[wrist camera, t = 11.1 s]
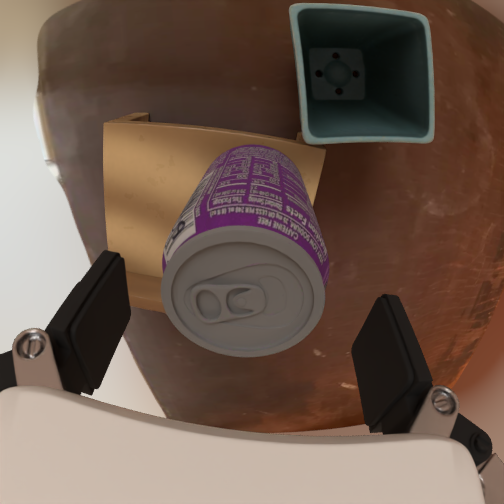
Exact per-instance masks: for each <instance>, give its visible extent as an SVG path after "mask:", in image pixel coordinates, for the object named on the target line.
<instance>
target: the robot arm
mask: <svg viewBox="0 0 504 504" xmlns="http://www.w3.org/2000/svg"><path fill="white" fill-rule="evenodd" d="M130 316H131V309H130V302H129V294H128V286H127V278H126V268H125V260H124V258H123V257H121V255H120V253H118V252H113V251H107V250H104V251H103V252H102V253H101V255H100V256H99V257H98V259H97V260H96V261H95V263H94V264H93V265H92V266H91V268H90V269H89V271H88V272H87V273H86V275H85V276H84V277H83V278H82V280H81V281H80V282H78V283H77V284H76V286H75V287H74V288H73V290H72V291H71V292H70V294H69V295H68V297H67V298H66V300H65V301H64V302H63V304H62V305H61V307H60V308H59V310H58V311H57V313H56V314H55V316H54V317H53V319H52V320H51V322H50V323H49V324H48V326H47V328H46V329H45V331H44V330H41V329H38V328H31V329H27V330H24V331H22V332H21V333H20V334H19V335H18V336H17V337H16V338H15V339H14V342H13V346H12V350H11V351H8V352H5V353H3V354H0V504H504V463H503V462H502V461H501V460H500V458H499V457H498V456H497V454H496V453H494V454H493V455H492V442H491V439H490V437H489V436H488V434H487V433H486V432H484V431H483V430H482V429H480V428H479V427H478V426H476V425H475V424H473V423H472V422H471V421H469V420H468V419H467V418H465V417H464V416H463V415H461V414H460V413H458V412H459V400H458V398H457V396H456V394H455V393H454V392H453V391H452V390H451V389H450V388H448V387H446V386H443V385H435V386H433V385H432V381H433V379H432V377H431V374H430V371H429V369H428V366H427V363H426V361H425V358H424V355H423V353H422V350H421V348H420V345H419V343H418V340H417V338H416V336H415V333H414V331H413V328H412V326H411V324H410V321H409V319H408V317H407V314H406V312H405V310H404V308H403V305H402V303H401V301H400V299H399V297H398V296H396V295H389V294H383V295H382V296H381V297H378V298H377V299H376V301H375V303H374V305H373V307H372V309H371V311H370V313H369V315H368V317H367V319H366V321H365V323H364V325H363V327H362V328H361V330H360V332H359V334H358V336H357V338H356V340H355V341H354V343H353V345H352V357H353V362H354V367H355V372H356V377H357V382H358V387H359V392H360V397H361V403H362V408H363V414H364V420H365V424H366V425H367V426H369V430H370V433H377V432H383V435H363V436H300V435H282V434H268V433H257V432H247V431H239V430H231V429H223V428H216V427H210V426H204V425H198V424H192V423H187V422H181V421H176V420H172V419H167V418H162V417H157V416H153V415H149V414H145V413H141V412H137V411H133V410H129V409H126V408H122V407H118V406H115V405H111V404H107V403H104V402H101V401H97V400H94V399H91V398H88V397H85V396H81V395H80V394H81V392H83V393H86V394H88V395H92V394H93V392H94V389H98V388H99V387H100V385H101V383H102V380H103V378H104V375H105V373H106V371H107V369H108V366H109V364H110V361H111V359H112V357H113V355H114V353H115V350H116V348H117V346H118V343H119V342H120V339H121V337H122V335H123V333H124V331H125V329H126V326H127V324H128V322H129V320H130Z"/></svg>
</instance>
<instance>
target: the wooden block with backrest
mask: <svg viewBox="0 0 504 504" xmlns="http://www.w3.org/2000/svg"><path fill="white" fill-rule="evenodd" d="M148 120H149V113H133V114H130V115H127V116H124V117H120V118H117V119H114V120H112V121H108V122H105V123H104V136H103V172H104V200H105V216H106V229H107V240H108V250H109V251H113V252H118V253H120V255H121V257H123V258H124V260H125V268H126V278H127V286H128V294H129V302H130V306H133V307H138V308H143V309H148V310H153V311H159V312H164V313H166V311H165V309H164V306H163V303H162V299H161V281H162V277H163V270H162V257H163V250H164V247H165V243H166V241H167V238H168V236H169V234H170V232H171V230H172V228H173V227H174V225H175V223H176V221H177V220H178V218H179V216H180V214H181V213H182V211H183V209H184V207H185V206H186V204H187V202H188V201H189V199H190V197H191V196H192V194H193V192H194V191H195V189H196V187H197V186H198V184H199V182H200V181H201V179H202V177H203V176H204V174H205V173H206V171H207V169H208V168H209V166H210V165H211V164H212V162H213V161H214V160H215V159H216V158H217V157H218V156H220V155H221V154H222V153H224V152H226V151H228V150H230V149H232V148H234V147H238V146H242V145H250V144H254V145H263V146H267V147H271V148H273V149H276V150H278V151H280V152H281V153H283V154H284V155H286V156H287V157H288V158H289V159H290V160H291V161H292V162H293V163H294V164H295V165H296V167H297V168H298V170H299V172H300V174H301V176H302V179H303V181H304V184H305V187H306V190H307V193H308V195H309V198H310V201H311V204H312V207H313V203H314V200H315V196H316V192H317V188H318V183H319V179H320V175H321V171H322V167H323V163H324V159H325V154H326V149H325V148H324V146H323V145H322V144H316V145H311V144H308V143H306V142H305V141H304V139H303V136H302V132H298V133H297V138H296V140H291V139H286V138H280V137H275V136H269V135H263V134H257V133H250V132H243V131H236V130H229V129H221V128H213V127H204V126H194V125H184V124H172V123H158V122H148Z"/></svg>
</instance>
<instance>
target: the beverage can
mask: <svg viewBox="0 0 504 504" xmlns="http://www.w3.org/2000/svg"><path fill="white" fill-rule="evenodd" d="M162 270H163V277H162V281H161V299H162V303H163V306H164V309H165V311H166V314H167V315H168V317H169V319H170V320H171V322H172V323H173V324H174V326H175V327H176V328H177V329H178V330H179V331H180V332H181V333H182V334H183V335H184V336H185V337H187V338H188V339H189V340H191V341H192V342H194V343H196V344H197V345H199V346H201V347H203V348H205V349H208V350H210V351H213V352H216V353H219V354H223V355H228V356H235V357H259V356H266V355H270V354H274V353H278V352H280V351H283V350H285V349H288V348H290V347H292V346H294V345H295V344H297V343H298V342H300V341H301V340H303V339H304V338H305V337H306V336H307V335H308V334H309V333H310V332H311V331H312V330H313V329H314V327H315V326H316V325H317V323H318V321H319V319H320V317H321V315H322V312H323V309H324V304H325V289H326V286H327V282H328V277H329V259H328V253H327V250H326V246H325V243H324V240H323V237H322V234H321V231H320V228H319V225H318V222H317V219H316V216H315V213H314V210H313V207H312V204H311V201H310V198H309V195H308V193H307V190H306V187H305V184H304V181H303V179H302V176H301V174H300V172H299V170H298V168H297V167H296V165H295V164H294V163H293V162H292V161H291V160H290V159H289V158H288V157H287V156H286V155H284V154H283V153H281V152H280V151H278V150H276V149H273V148H271V147H267V146H263V145H254V144H250V145H242V146H238V147H234V148H232V149H230V150H228V151H226V152H224V153H222V154H221V155H220V156H218V157H217V158H216V159H215V160H214V161H213V162H212V164H211V165H210V166H209V168H208V169H207V171H206V173H205V174H204V176H203V177H202V179H201V181H200V182H199V184H198V186H197V187H196V189H195V191H194V192H193V194H192V196H191V197H190V199H189V201H188V202H187V204H186V206H185V207H184V209H183V211H182V213H181V214H180V216H179V218H178V220H177V221H176V223H175V225H174V227H173V228H172V230H171V232H170V234H169V236H168V238H167V241H166V243H165V247H164V250H163V257H162Z"/></svg>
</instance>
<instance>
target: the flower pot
mask: <svg viewBox="0 0 504 504" xmlns="http://www.w3.org/2000/svg"><path fill="white" fill-rule="evenodd" d="M289 16H290V30H291V36H292V43H293V50H294V57H295V66H296V75H297V85H298V96H299V109H300V122H301V129H302V136H303V139H304V141H305V142H306V143H308V144H311V145H316V144H333V143H352V142H353V143H355V142H406V143H408V142H409V143H422V144H424V143H430V142H431V141H432V140H433V138H434V130H435V128H434V121H435V117H434V112H435V109H434V72H433V54H432V44H431V34H430V26H429V22H428V20H427V18H426V17H425V16H423V15H421V14H418V13H414V12H408V11H402V10H394V9H387V8H377V7H368V6H358V5H345V4H328V3H298V4H293V5H291V6H290V8H289ZM334 53H337V54H338V55H339V57H338V58H337V59H334V58H333V56H332V55H333V54H334ZM316 71H320V72H321V73H322V74H321V76H320V77H318V76H316ZM353 71H356V72H357V73H358V75H357V76H356V77H355V76H353V74H352V73H353ZM336 89H340V90H341V94H337V93H336Z"/></svg>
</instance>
